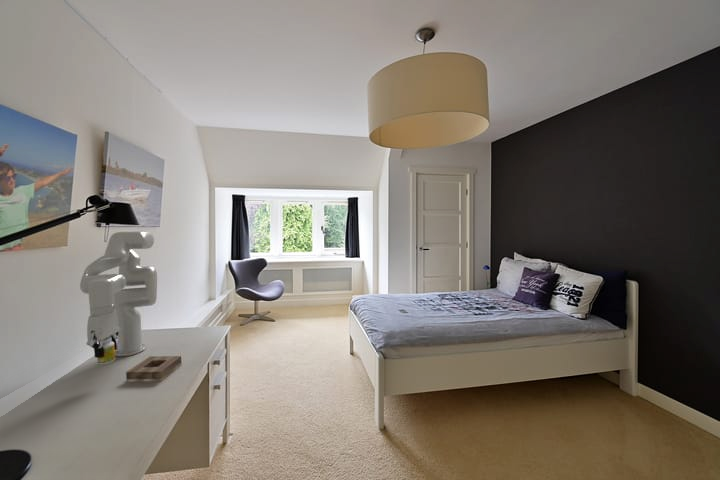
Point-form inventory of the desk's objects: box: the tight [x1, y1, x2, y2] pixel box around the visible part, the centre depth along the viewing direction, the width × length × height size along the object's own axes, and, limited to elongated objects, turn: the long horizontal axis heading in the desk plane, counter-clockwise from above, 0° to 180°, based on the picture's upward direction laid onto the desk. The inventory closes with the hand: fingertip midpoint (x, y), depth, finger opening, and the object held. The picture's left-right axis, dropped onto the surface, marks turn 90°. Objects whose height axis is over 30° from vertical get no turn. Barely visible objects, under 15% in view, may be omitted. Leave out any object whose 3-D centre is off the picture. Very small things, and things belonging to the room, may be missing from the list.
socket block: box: [125, 355, 183, 383], centre depth 127 cm, size 14×14×4 cm
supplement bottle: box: [96, 336, 116, 365], centre depth 119 cm, size 5×5×10 cm
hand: (106, 352), depth 119 cm, fingers closed on supplement bottle, 5 cm apart
